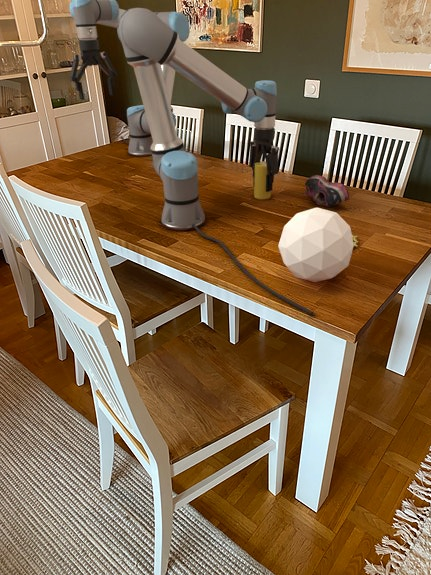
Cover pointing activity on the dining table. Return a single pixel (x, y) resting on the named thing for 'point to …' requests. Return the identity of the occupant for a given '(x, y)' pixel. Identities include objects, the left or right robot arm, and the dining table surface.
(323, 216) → the sphere
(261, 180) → the can
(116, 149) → the dining table surface
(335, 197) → the athletic shoe
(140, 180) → the dining table surface
